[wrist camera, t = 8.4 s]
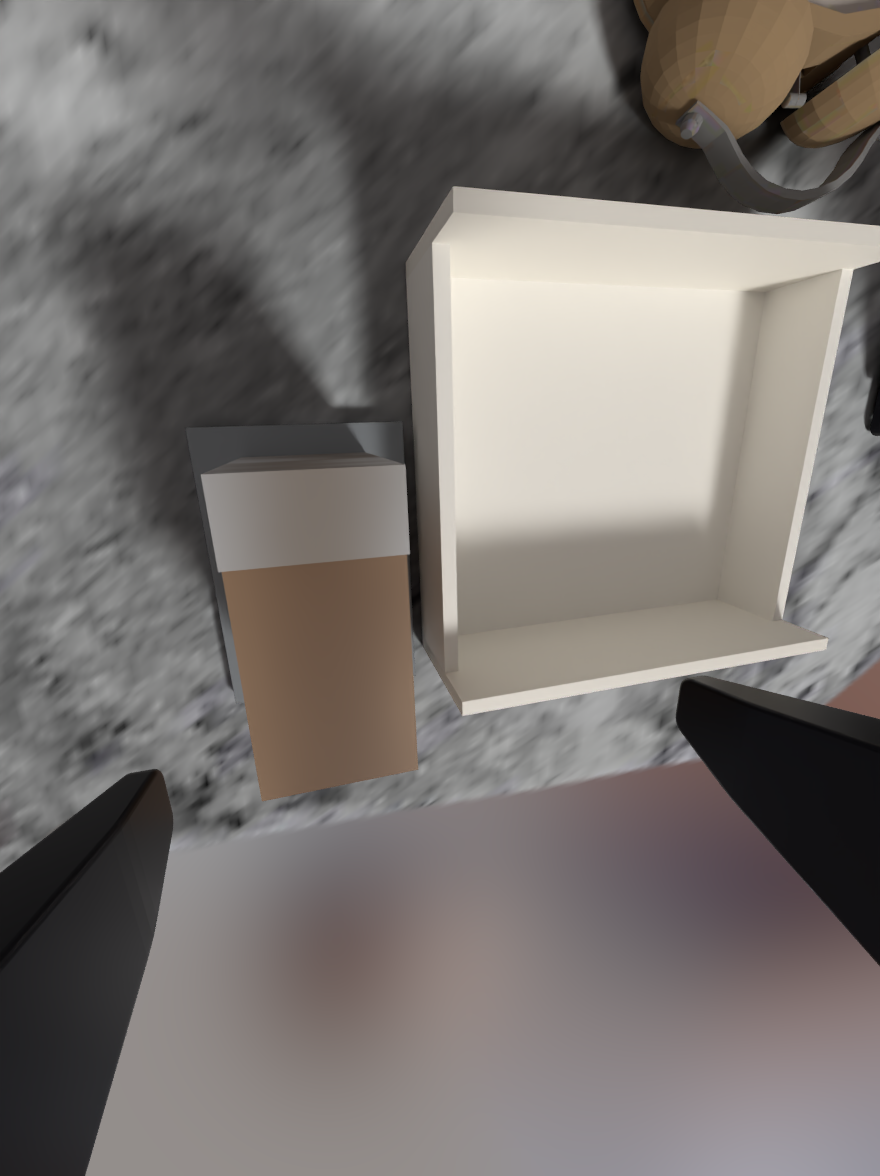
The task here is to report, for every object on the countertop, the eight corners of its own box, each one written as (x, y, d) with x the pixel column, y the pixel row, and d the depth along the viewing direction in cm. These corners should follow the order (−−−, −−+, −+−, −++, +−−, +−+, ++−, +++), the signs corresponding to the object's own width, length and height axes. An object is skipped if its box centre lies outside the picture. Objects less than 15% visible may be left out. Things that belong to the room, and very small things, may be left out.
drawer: (766, 281, 20) (926, 230, 15) (716, 604, 24) (825, 649, 19) (405, 262, 16) (453, 185, 11) (422, 646, 21) (462, 715, 16)
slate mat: (399, 421, 18) (402, 421, 17) (412, 669, 21) (415, 675, 20) (189, 427, 16) (185, 427, 15) (237, 696, 19) (236, 703, 19)
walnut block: (365, 452, 17) (405, 464, 11) (380, 658, 20) (420, 771, 13) (241, 457, 16) (200, 474, 10) (273, 673, 19) (259, 804, 12)
